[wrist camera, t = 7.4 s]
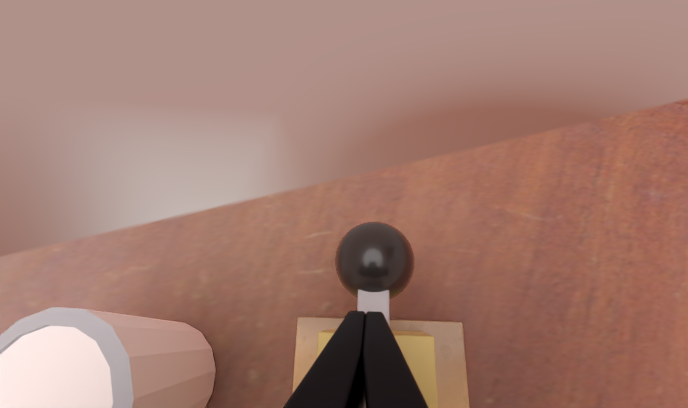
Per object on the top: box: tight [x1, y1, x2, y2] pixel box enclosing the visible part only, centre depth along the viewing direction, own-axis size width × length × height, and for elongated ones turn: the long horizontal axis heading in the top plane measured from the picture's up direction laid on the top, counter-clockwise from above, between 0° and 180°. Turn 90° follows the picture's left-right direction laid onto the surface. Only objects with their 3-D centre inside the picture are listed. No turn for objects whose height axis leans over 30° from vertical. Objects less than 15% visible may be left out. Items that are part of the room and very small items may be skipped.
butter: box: [317, 329, 438, 408], centre depth 14 cm, size 4×3×4 cm
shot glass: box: [0, 307, 216, 408], centre depth 14 cm, size 7×7×7 cm
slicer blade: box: [335, 222, 414, 408], centre depth 10 cm, size 12×3×3 cm, turn 178°
